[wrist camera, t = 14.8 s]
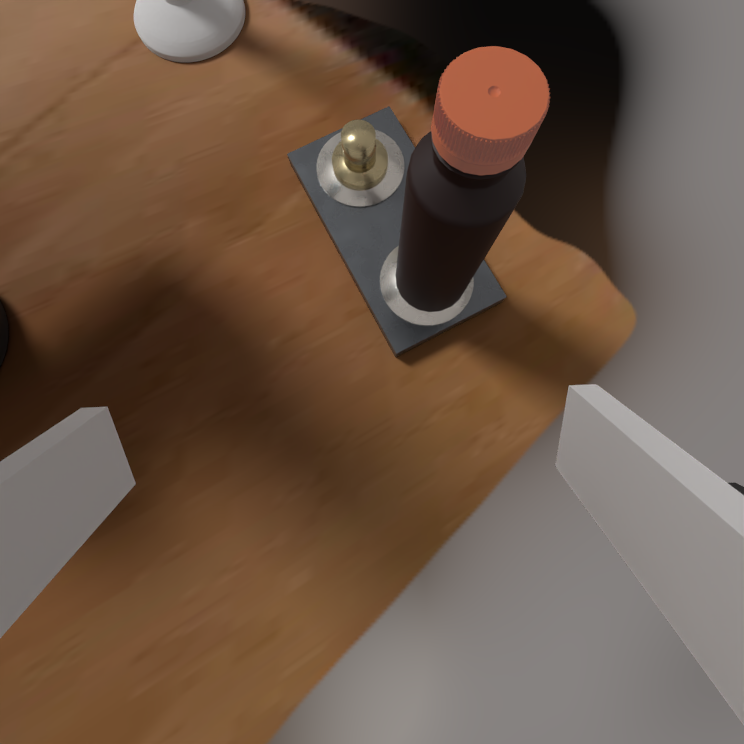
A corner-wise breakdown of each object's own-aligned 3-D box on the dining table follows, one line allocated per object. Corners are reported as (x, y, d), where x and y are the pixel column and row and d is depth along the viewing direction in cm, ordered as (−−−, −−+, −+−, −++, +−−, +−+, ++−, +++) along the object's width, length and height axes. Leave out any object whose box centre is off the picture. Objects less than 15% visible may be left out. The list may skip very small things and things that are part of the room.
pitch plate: (290, 164, 40) (276, 120, 35) (388, 118, 41) (390, 67, 35) (395, 357, 36) (398, 342, 31) (501, 302, 37) (523, 278, 32)
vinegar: (405, 321, 35) (440, 177, 16) (387, 256, 36) (398, 45, 17) (474, 304, 36) (595, 140, 16) (454, 240, 37) (544, 12, 17)
